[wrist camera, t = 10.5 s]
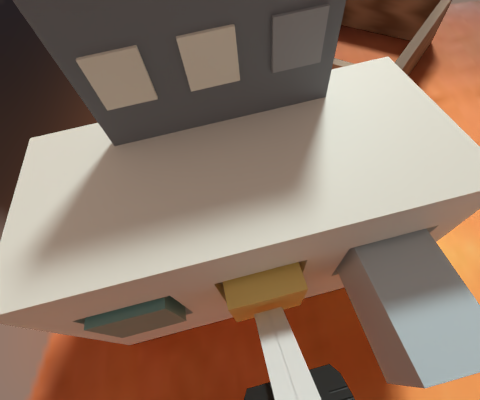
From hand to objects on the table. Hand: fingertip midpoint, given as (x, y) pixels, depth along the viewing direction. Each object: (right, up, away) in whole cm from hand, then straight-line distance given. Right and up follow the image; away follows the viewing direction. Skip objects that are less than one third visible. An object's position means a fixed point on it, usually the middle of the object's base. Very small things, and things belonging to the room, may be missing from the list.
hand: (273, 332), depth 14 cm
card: (-3, +11, +1) cm, 12 cm away
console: (-1, +2, +10) cm, 11 cm away
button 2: (+7, +2, +3) cm, 7 cm away
